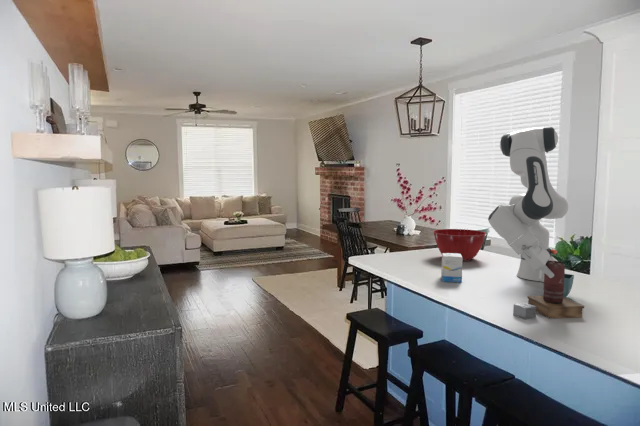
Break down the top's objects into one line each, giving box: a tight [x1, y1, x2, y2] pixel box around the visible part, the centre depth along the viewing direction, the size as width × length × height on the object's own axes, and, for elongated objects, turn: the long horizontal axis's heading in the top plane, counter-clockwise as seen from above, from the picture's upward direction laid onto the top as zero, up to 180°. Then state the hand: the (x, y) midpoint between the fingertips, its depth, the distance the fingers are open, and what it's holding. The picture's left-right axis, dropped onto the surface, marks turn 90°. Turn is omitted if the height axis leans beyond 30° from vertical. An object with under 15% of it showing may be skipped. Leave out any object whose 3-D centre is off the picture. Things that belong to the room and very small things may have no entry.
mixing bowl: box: [432, 228, 487, 262], centre depth 237 cm, size 28×28×15 cm
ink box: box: [440, 253, 464, 283], centre depth 191 cm, size 9×8×12 cm
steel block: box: [512, 301, 537, 321], centre depth 144 cm, size 5×5×4 cm
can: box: [542, 260, 566, 304], centre depth 147 cm, size 6×6×14 cm
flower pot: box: [563, 273, 575, 298], centre depth 165 cm, size 9×9×9 cm
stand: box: [527, 295, 585, 319], centre depth 148 cm, size 13×13×4 cm
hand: (554, 273), depth 147 cm, fingers open, 8 cm apart
